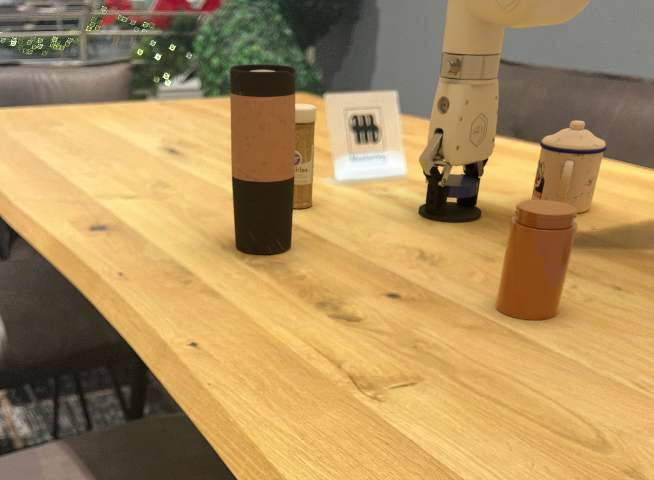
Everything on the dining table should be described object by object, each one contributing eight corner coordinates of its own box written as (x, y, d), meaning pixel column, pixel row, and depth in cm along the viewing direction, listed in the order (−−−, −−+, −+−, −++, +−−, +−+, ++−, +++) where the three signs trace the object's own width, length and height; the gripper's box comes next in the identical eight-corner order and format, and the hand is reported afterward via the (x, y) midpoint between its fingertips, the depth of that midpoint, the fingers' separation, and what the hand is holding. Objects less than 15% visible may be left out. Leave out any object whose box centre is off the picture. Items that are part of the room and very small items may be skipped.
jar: (544, 297, 84) (566, 198, 78) (566, 319, 79) (591, 215, 73) (488, 298, 83) (505, 199, 77) (506, 320, 78) (526, 216, 72)
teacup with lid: (531, 196, 119) (547, 114, 113) (592, 202, 117) (612, 118, 110) (524, 216, 110) (541, 128, 103) (590, 222, 108) (612, 132, 101)
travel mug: (224, 242, 99) (218, 65, 87) (276, 234, 102) (277, 62, 90) (249, 259, 93) (246, 73, 82) (303, 250, 96) (308, 70, 85)
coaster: (473, 205, 115) (474, 201, 114) (487, 222, 107) (488, 218, 107) (414, 205, 115) (414, 201, 114) (423, 222, 107) (424, 217, 107)
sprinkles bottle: (281, 208, 112) (282, 107, 104) (284, 200, 116) (285, 102, 108) (312, 209, 112) (315, 108, 104) (314, 201, 116) (317, 103, 108)
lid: (448, 183, 113) (449, 171, 112) (486, 192, 109) (488, 180, 108) (418, 190, 109) (420, 179, 108) (457, 200, 105) (458, 188, 104)
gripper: (452, 76, 93) (434, 226, 103) (530, 66, 103) (506, 204, 113) (404, 71, 98) (392, 214, 108) (483, 61, 107) (464, 194, 118)
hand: (450, 208), depth 110 cm, fingers closed on lid, 6 cm apart
